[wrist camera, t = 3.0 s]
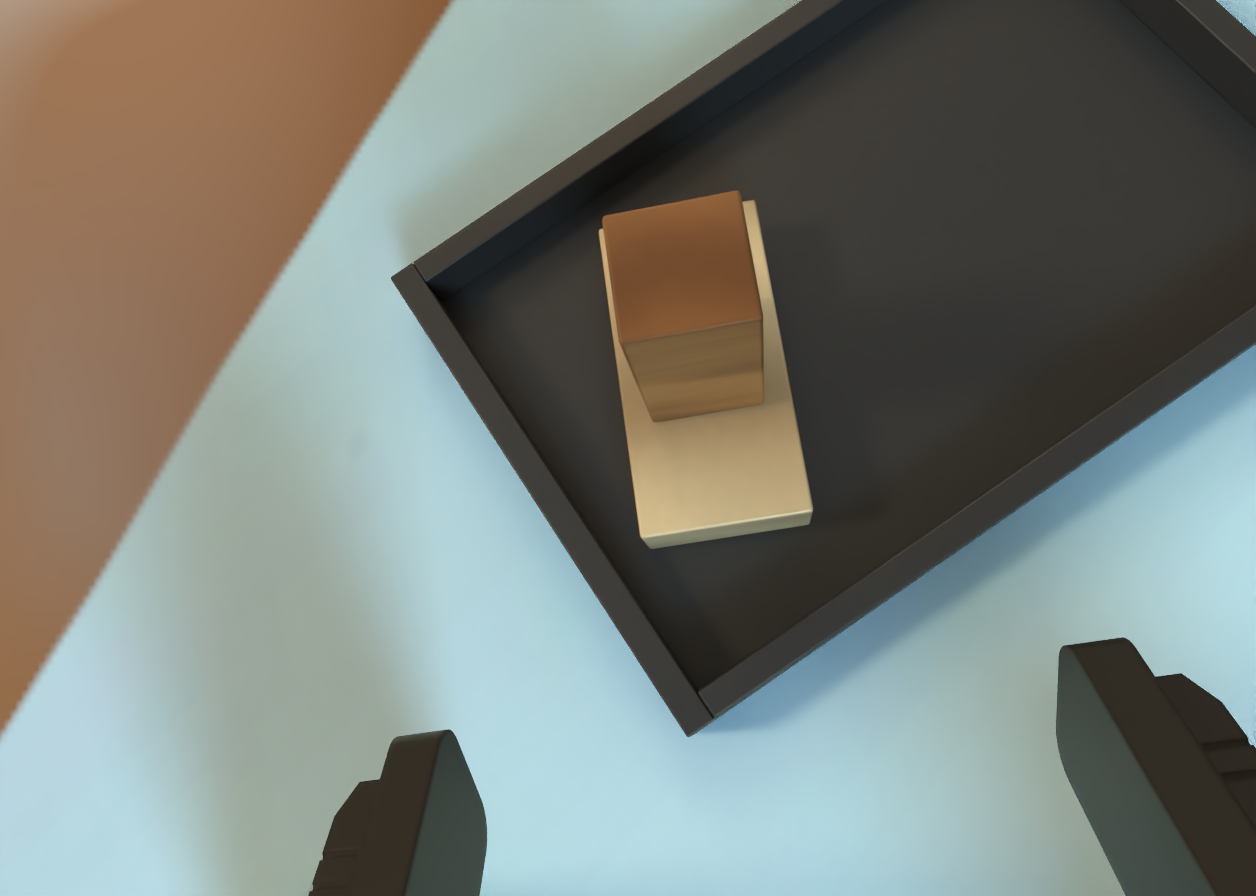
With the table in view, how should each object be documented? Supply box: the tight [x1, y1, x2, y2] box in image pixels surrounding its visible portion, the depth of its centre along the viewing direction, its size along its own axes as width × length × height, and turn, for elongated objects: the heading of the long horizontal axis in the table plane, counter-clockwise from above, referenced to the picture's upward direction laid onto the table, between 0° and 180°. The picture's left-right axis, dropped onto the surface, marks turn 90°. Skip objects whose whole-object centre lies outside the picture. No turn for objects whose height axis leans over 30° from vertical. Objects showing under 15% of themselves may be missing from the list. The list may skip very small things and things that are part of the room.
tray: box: [391, 0, 1256, 737], centre depth 27 cm, size 24×16×2 cm, turn 124°
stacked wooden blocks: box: [599, 191, 813, 549], centre depth 24 cm, size 9×4×8 cm, turn 8°
